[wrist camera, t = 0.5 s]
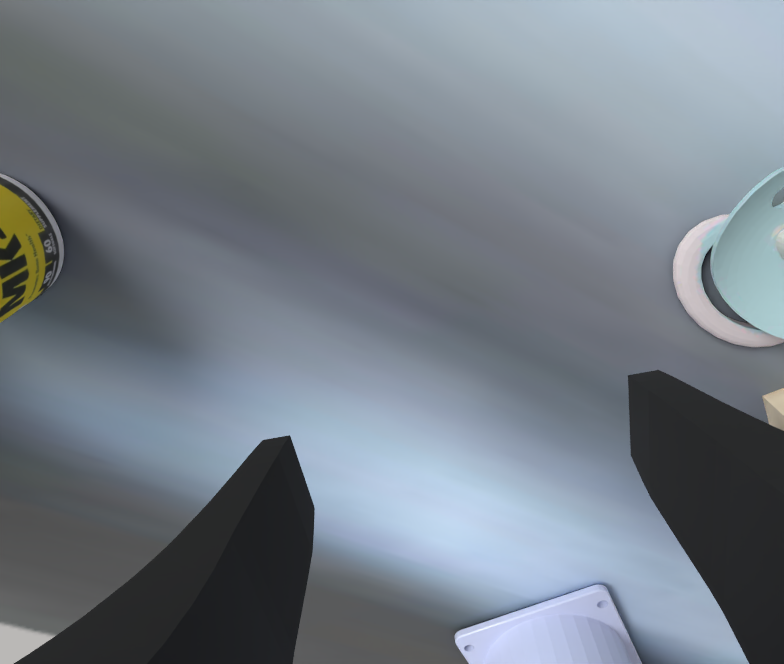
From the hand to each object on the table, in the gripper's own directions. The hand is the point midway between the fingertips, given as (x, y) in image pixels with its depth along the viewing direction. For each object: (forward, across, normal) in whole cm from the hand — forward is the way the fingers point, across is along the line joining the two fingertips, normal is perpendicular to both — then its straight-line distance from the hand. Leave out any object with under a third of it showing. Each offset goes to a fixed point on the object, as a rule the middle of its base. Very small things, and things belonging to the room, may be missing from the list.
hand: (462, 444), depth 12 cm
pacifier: (+10, -12, +2) cm, 16 cm away
